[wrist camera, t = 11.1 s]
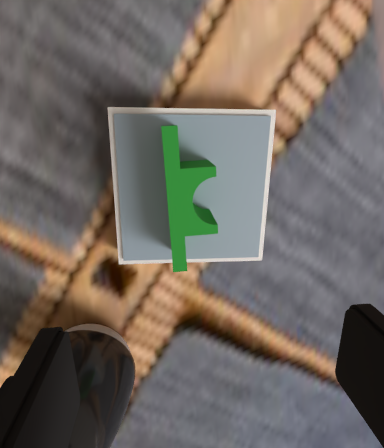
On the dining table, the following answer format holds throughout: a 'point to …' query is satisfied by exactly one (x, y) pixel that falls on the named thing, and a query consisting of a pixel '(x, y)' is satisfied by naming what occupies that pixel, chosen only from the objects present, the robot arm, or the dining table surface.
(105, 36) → the dining table surface
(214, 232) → the pipe clamp
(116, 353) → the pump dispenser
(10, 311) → the dining table surface
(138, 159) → the stand
